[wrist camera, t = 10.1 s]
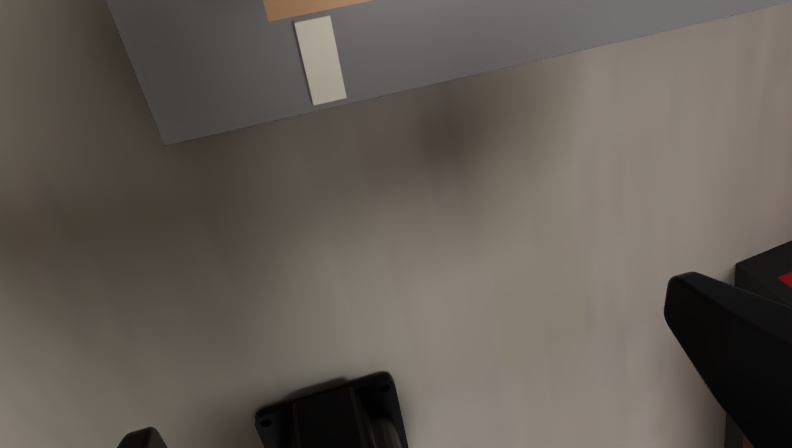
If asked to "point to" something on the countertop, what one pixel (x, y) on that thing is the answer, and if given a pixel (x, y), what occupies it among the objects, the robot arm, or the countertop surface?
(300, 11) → the tan rectangular block
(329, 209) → the countertop surface
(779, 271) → the cleaning product box
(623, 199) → the countertop surface
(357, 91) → the console
